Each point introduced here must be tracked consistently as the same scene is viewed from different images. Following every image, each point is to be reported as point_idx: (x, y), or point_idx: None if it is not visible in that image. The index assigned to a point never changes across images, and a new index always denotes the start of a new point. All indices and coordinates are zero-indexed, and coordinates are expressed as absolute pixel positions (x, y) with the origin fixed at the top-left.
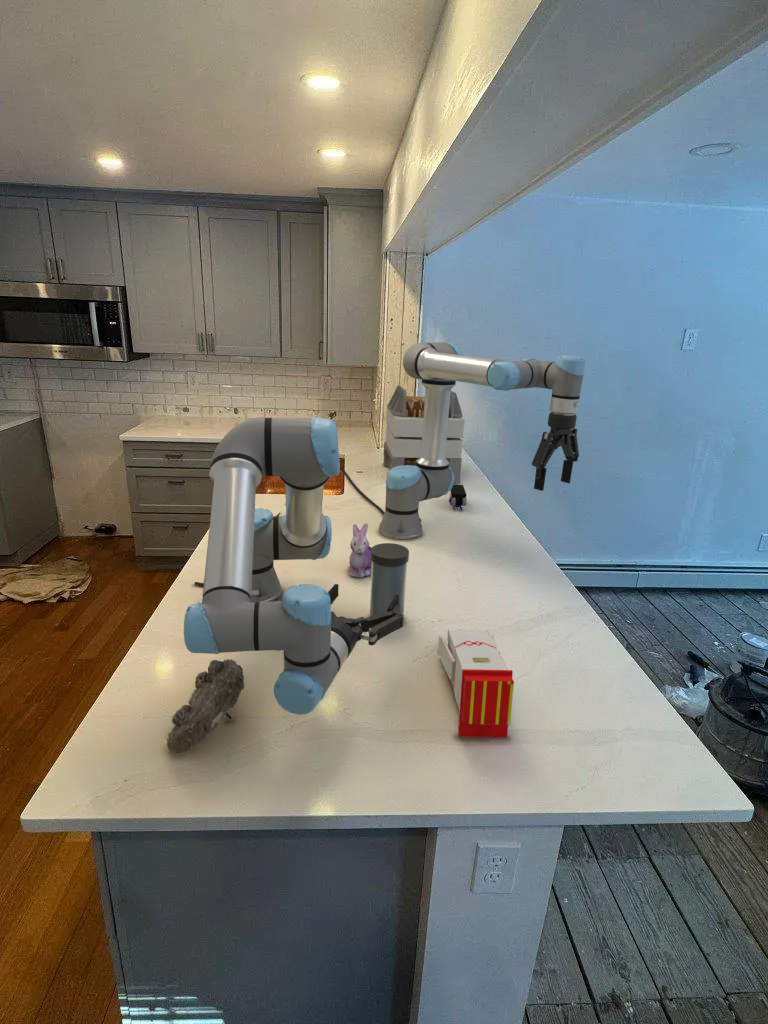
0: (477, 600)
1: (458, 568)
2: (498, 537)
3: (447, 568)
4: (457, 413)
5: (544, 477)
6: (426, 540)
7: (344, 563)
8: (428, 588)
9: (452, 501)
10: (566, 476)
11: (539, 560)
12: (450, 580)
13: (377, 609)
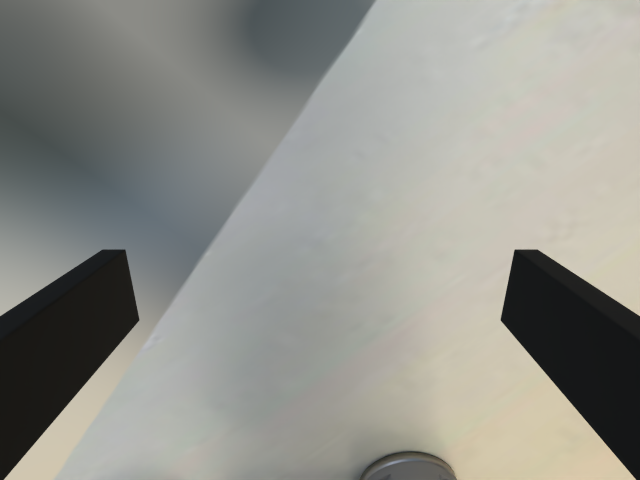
0: (595, 161)
1: (469, 301)
2: (226, 362)
3: (489, 316)
4: None
5: (618, 313)
6: (395, 435)
7: None
8: (617, 272)
9: None
10: (100, 305)
11: (250, 212)
12: None
13: None
